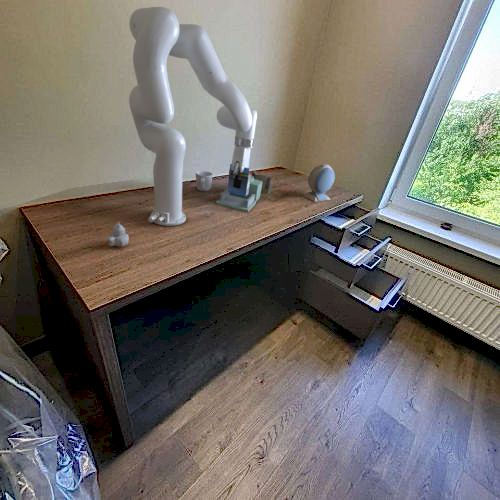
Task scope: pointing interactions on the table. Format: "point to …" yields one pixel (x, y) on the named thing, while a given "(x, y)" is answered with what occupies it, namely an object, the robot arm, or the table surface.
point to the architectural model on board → (266, 182)
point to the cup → (203, 180)
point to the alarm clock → (320, 182)
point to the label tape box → (244, 182)
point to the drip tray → (236, 201)
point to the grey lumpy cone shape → (118, 236)
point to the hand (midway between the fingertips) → (238, 185)
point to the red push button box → (252, 189)
